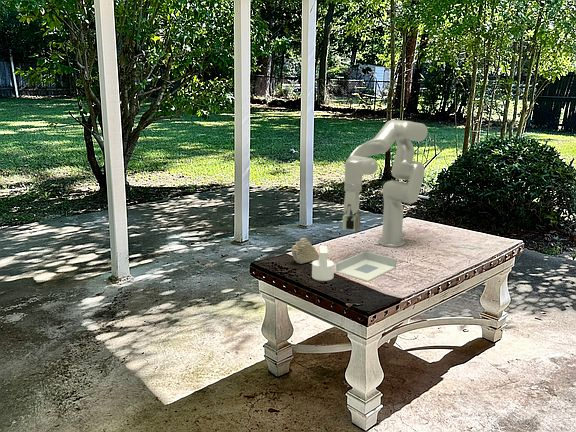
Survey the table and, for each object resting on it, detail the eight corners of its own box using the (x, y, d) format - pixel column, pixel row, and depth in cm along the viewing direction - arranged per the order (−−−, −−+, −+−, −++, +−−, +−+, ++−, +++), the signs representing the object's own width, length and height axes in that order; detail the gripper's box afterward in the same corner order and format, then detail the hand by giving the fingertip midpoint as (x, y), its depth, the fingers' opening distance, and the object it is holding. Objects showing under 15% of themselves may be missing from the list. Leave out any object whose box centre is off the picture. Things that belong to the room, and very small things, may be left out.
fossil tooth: (321, 262, 246) (295, 266, 236) (312, 258, 250) (286, 262, 241) (324, 238, 243) (298, 241, 234) (315, 234, 248) (289, 237, 238)
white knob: (311, 272, 230) (312, 245, 227) (333, 273, 230) (333, 246, 226) (312, 280, 221) (312, 252, 218) (334, 281, 221) (335, 253, 218)
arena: (365, 259, 246) (365, 250, 245) (396, 268, 236) (396, 259, 235) (336, 272, 230) (336, 263, 229) (367, 281, 220) (368, 272, 219)
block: (344, 226, 245) (345, 213, 244) (360, 228, 243) (360, 215, 241) (342, 229, 241) (342, 216, 240) (357, 231, 239) (358, 217, 237)
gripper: (349, 183, 246) (347, 221, 251) (339, 190, 231) (338, 231, 235) (365, 184, 244) (363, 223, 248) (356, 191, 228) (354, 233, 233)
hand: (351, 227), depth 242 cm, fingers closed on block, 4 cm apart
